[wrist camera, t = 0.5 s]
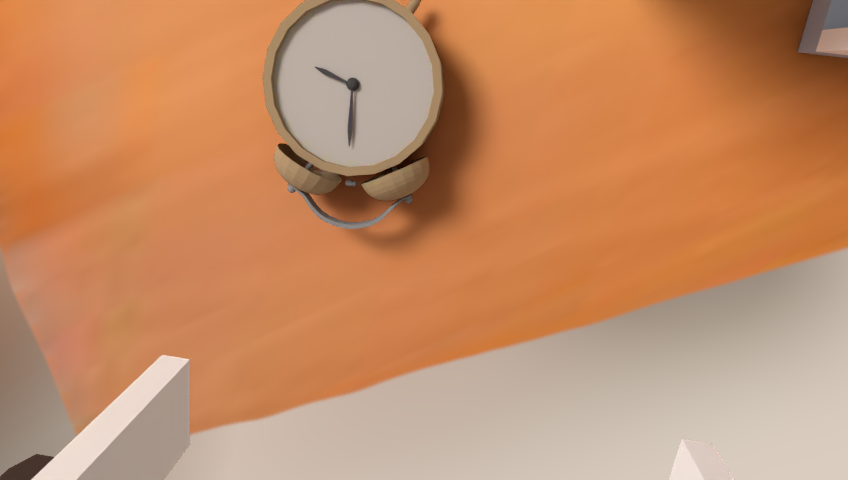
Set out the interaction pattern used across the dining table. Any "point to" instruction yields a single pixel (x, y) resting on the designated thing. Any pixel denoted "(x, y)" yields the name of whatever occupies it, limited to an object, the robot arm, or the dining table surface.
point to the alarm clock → (352, 98)
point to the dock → (826, 29)
